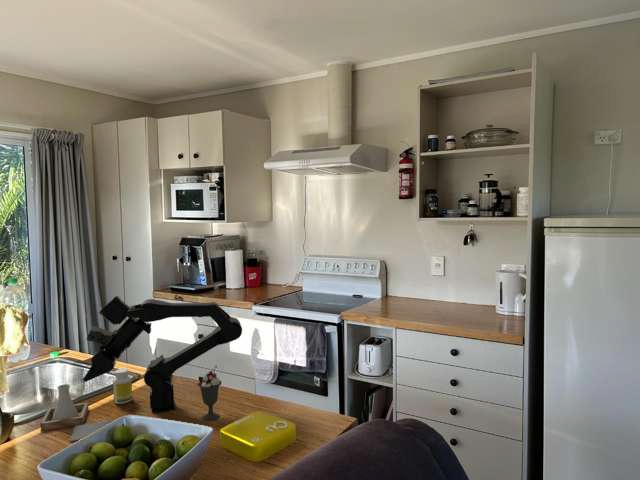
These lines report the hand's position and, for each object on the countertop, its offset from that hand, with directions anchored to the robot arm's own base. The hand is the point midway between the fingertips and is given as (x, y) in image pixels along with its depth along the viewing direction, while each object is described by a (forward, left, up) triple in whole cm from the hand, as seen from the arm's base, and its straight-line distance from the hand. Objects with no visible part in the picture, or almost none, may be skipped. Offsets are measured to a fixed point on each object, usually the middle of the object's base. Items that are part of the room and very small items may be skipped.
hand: (87, 375), depth 139 cm
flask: (+6, -1, -13) cm, 14 cm away
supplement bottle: (-9, -9, -13) cm, 17 cm away
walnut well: (+6, -1, -12) cm, 14 cm away
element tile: (-44, +32, -13) cm, 56 cm away
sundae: (-34, +13, -13) cm, 38 cm away
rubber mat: (-2, +10, -12) cm, 16 cm away
